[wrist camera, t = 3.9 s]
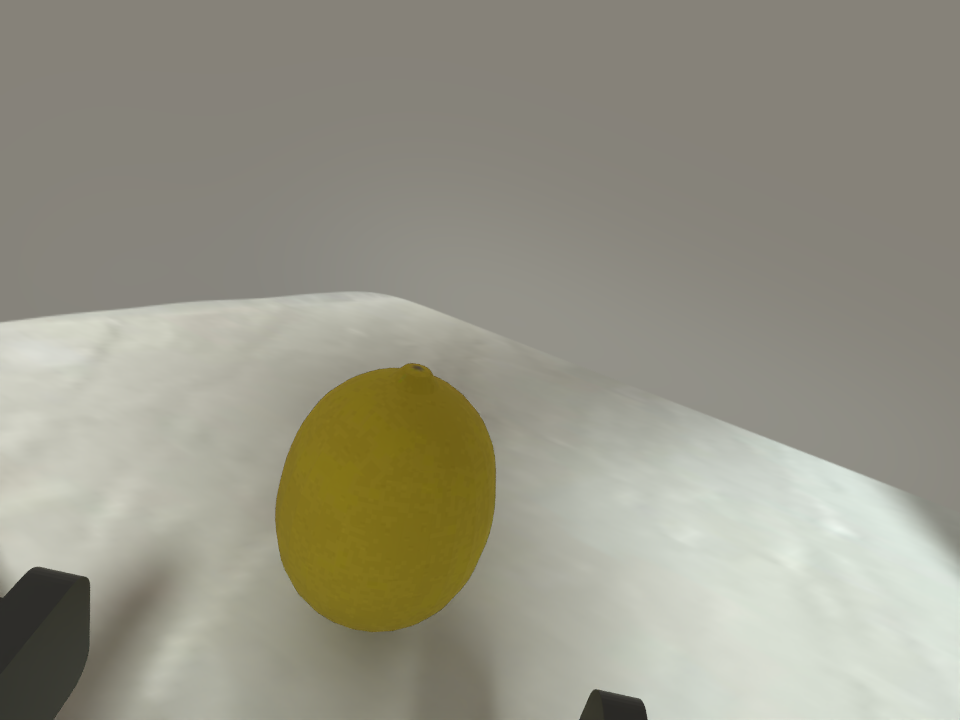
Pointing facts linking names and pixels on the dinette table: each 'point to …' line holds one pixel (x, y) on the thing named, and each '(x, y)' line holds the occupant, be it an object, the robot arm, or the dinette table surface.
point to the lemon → (386, 499)
